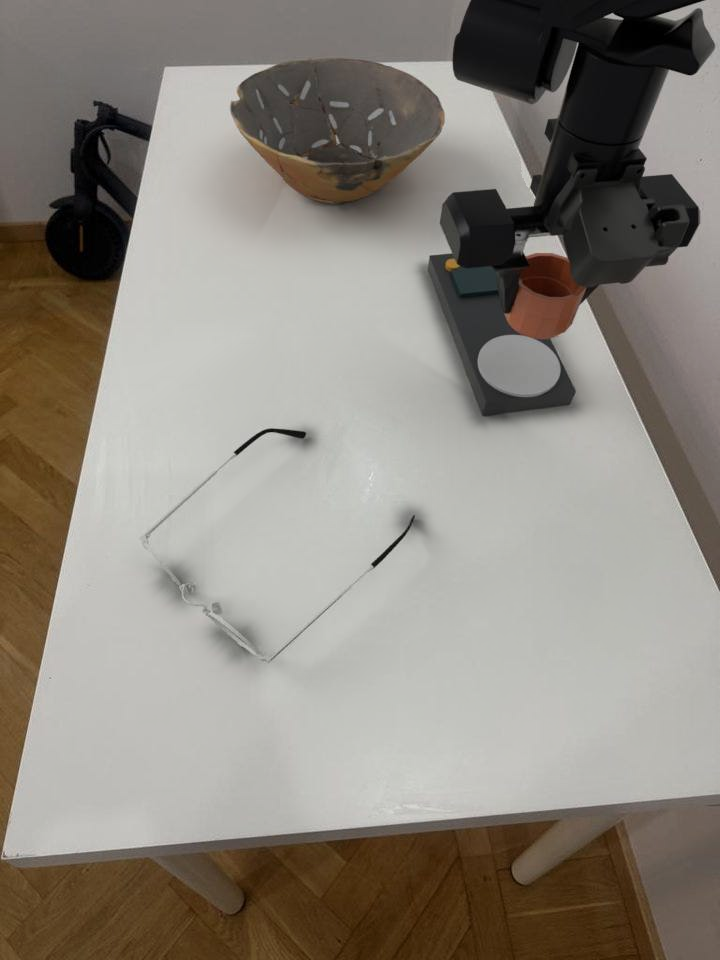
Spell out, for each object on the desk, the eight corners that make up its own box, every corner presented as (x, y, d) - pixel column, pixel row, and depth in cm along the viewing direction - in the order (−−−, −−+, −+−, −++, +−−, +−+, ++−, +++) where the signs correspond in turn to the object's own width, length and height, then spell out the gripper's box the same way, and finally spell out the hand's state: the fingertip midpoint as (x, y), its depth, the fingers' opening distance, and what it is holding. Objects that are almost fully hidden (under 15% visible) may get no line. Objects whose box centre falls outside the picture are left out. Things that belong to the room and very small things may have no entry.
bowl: (457, 232, 77) (471, 151, 69) (253, 255, 74) (243, 172, 65) (405, 125, 91) (412, 47, 82) (231, 140, 87) (220, 60, 79)
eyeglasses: (131, 558, 52) (113, 528, 47) (294, 427, 60) (291, 391, 56) (267, 693, 46) (260, 672, 42) (427, 528, 54) (435, 496, 50)
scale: (570, 405, 62) (578, 387, 60) (482, 416, 61) (487, 398, 59) (502, 262, 74) (507, 243, 72) (427, 269, 73) (430, 250, 71)
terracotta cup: (571, 300, 58) (587, 258, 54) (569, 347, 54) (586, 306, 51) (505, 289, 58) (516, 247, 54) (499, 335, 55) (511, 293, 51)
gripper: (504, 205, 37) (461, 388, 50) (794, 180, 39) (680, 361, 52) (453, 108, 43) (427, 294, 56) (707, 91, 45) (624, 273, 58)
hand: (539, 306), depth 55 cm, fingers closed on terracotta cup, 6 cm apart
